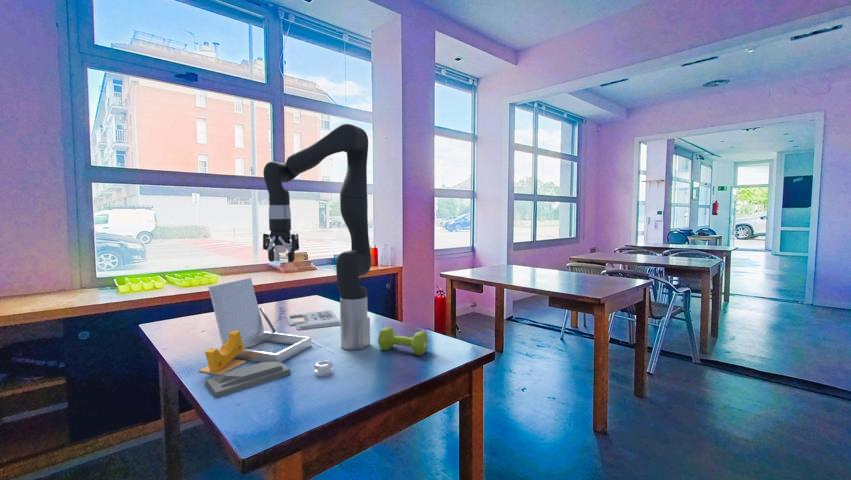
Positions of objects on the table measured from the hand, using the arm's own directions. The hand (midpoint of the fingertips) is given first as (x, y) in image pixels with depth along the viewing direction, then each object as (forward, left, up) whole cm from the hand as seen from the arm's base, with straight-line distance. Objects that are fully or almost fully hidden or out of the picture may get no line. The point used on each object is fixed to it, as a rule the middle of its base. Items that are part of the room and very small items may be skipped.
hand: (281, 261), depth 144 cm
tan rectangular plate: (-2, +29, -28) cm, 41 cm away
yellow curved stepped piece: (-1, +28, -26) cm, 39 cm away
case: (-6, +14, -28) cm, 32 cm away
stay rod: (+3, +4, -26) cm, 27 cm away
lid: (+7, +14, -15) cm, 22 cm away
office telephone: (+2, -21, -29) cm, 36 cm away
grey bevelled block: (-16, +34, -29) cm, 47 cm away
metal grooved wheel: (-33, +23, -28) cm, 49 cm away
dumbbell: (-48, -1, -28) cm, 56 cm away
